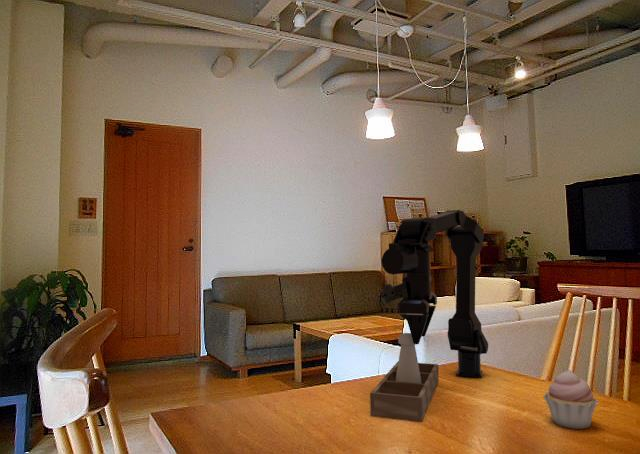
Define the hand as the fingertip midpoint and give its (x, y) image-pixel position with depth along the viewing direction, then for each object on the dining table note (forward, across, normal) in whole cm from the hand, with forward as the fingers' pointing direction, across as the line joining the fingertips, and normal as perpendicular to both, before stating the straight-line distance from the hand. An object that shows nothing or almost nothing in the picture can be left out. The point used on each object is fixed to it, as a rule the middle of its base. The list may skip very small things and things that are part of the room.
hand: (419, 340), depth 109 cm
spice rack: (+12, +3, -2) cm, 13 cm away
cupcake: (+13, +8, +30) cm, 33 cm away
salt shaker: (+12, +2, -2) cm, 12 cm away
